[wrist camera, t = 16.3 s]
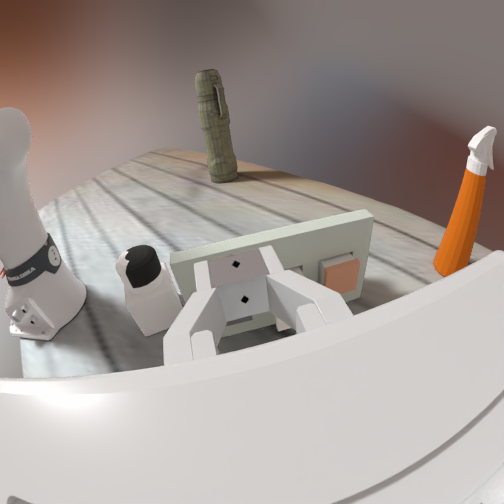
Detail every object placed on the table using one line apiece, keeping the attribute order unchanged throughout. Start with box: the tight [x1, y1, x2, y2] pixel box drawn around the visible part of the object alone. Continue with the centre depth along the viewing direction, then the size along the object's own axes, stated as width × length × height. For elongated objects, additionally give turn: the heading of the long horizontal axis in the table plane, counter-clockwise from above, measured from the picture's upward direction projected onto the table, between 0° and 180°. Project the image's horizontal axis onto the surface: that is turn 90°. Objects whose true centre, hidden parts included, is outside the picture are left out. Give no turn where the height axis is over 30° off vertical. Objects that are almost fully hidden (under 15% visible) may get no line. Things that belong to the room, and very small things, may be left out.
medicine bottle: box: [116, 245, 183, 337], centre depth 37 cm, size 7×7×12 cm
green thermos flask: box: [195, 69, 238, 183], centre depth 74 cm, size 9×12×35 cm
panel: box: [170, 209, 374, 338], centre depth 36 cm, size 24×8×14 cm, turn 103°
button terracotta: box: [317, 253, 360, 294], centre depth 36 cm, size 5×9×5 cm, turn 13°
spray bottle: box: [434, 126, 497, 277], centre depth 32 cm, size 7×11×26 cm, turn 108°
